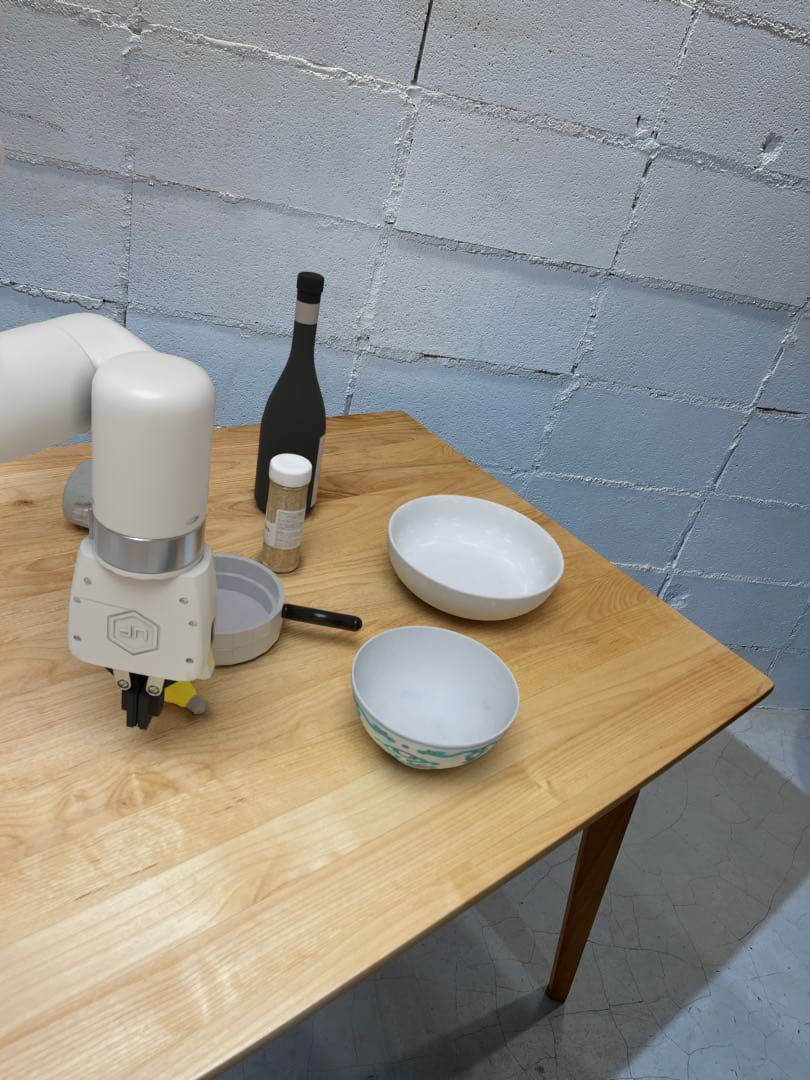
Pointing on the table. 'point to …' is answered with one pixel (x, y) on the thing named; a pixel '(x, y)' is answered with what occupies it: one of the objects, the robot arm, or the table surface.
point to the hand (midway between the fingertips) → (142, 716)
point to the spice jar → (285, 511)
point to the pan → (245, 609)
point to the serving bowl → (473, 556)
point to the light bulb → (184, 696)
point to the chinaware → (432, 695)
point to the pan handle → (321, 617)
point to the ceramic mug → (78, 490)
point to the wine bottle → (296, 399)
